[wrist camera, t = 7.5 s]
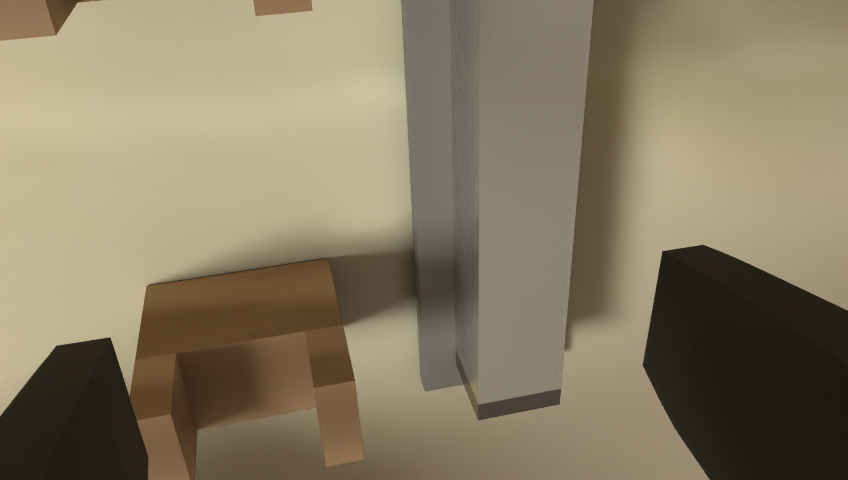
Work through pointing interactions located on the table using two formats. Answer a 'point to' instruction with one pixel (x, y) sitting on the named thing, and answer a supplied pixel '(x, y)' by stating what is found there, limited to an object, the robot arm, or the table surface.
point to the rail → (515, 192)
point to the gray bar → (431, 184)
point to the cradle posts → (229, 331)
